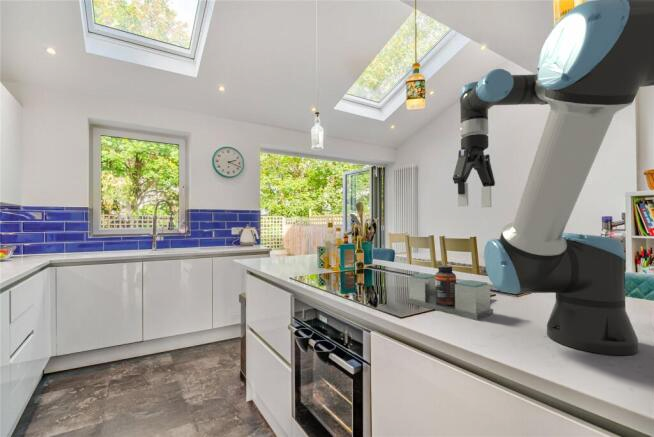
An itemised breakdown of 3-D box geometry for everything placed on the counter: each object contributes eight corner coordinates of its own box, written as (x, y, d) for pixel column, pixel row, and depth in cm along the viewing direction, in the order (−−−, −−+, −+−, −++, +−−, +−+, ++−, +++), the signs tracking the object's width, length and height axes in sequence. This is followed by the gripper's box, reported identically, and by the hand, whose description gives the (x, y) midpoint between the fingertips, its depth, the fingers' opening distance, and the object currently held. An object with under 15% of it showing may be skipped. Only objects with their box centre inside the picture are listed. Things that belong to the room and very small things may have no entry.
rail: (493, 314, 89) (492, 282, 89) (476, 320, 83) (476, 286, 83) (424, 298, 107) (423, 272, 107) (407, 303, 102) (406, 275, 102)
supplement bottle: (458, 302, 96) (457, 265, 96) (454, 306, 91) (453, 267, 91) (438, 299, 99) (437, 264, 100) (433, 304, 94) (432, 266, 95)
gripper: (482, 145, 105) (483, 208, 105) (439, 132, 90) (440, 206, 90) (506, 140, 99) (507, 207, 99) (464, 125, 84) (465, 204, 84)
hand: (475, 206), depth 95 cm, fingers open, 13 cm apart
